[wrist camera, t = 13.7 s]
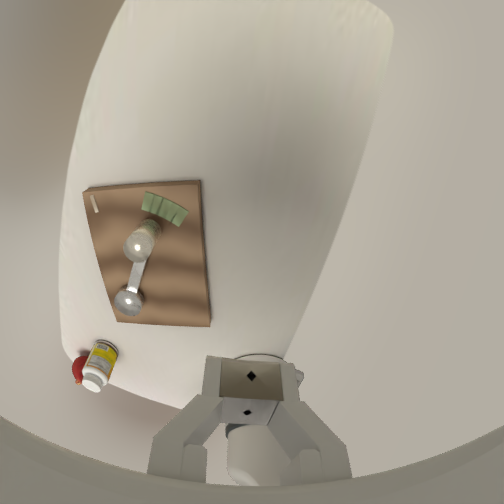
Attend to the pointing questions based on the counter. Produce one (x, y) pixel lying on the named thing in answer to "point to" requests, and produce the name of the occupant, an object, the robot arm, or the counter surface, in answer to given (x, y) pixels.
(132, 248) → the silver measuring spoon
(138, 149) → the counter surface
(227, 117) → the counter surface
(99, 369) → the supplement bottle
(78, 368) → the onion
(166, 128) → the counter surface
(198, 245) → the board
